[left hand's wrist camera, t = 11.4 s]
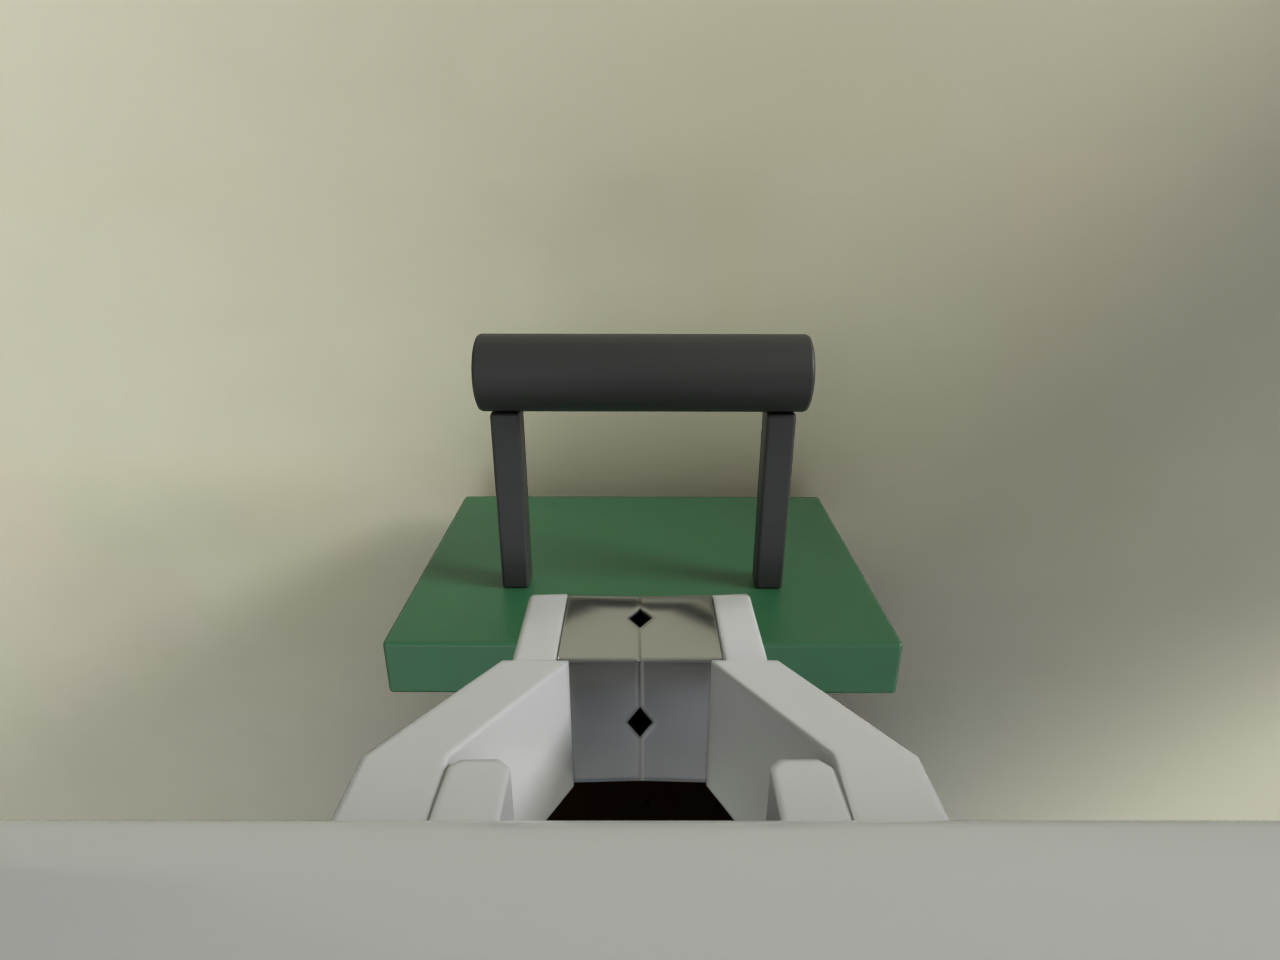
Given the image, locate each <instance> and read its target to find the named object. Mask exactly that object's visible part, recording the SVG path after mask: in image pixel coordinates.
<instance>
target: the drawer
mask: <svg viewBox="0 0 1280 960" xmlns="http://www.w3.org/2000/svg"><path fill="white" fill-rule="evenodd" d="M471 370H472V386H473V393H474V397H475V401H476V404H477V406H478V408H479V409H480V410H482V411H493V412H492V413H491V415H490V421H491V434H492V447H493V460H494V474H495V487H496V497H466V498H465V500H464V501H463V503H462V505H461V507H460V509H459V510H458V512H457V514H456V516H455V517H454V519H453V521H452V523H451V524H450V526H449V528H448V530H447V531H446V533H445V535H444V537H443V539H442V540H441V542H440V544H439V546H438V547H437V549H436V551H435V553H434V554H433V556H432V558H431V560H430V561H429V563H428V565H427V567H426V568H425V570H424V572H423V574H422V576H421V577H420V579H419V581H418V583H417V584H416V586H415V588H414V590H413V591H412V593H411V595H410V597H409V598H408V600H407V602H406V604H405V606H404V607H403V609H402V611H401V613H400V614H399V616H398V618H397V620H396V621H395V623H394V625H393V627H392V628H391V630H390V632H389V634H388V636H387V637H386V639H385V641H384V643H383V646H384V653H385V660H386V666H387V673H388V680H389V687H390V690H391V691H392V692H457V691H458V690H460V689H461V688H463V687H464V686H466V685H467V684H469V683H470V682H472V681H473V680H474V679H476V678H477V677H479V676H480V675H482V674H483V673H485V672H486V671H488V670H489V669H491V668H492V667H493V666H495V665H496V664H498V663H499V662H501V661H502V660H513V657H514V653H515V650H516V646H517V642H518V639H519V635H520V631H521V628H522V624H523V620H524V617H525V613H526V609H527V606H528V602H529V598H530V597H531V596H533V595H541V594H567V595H568V596H569V595H615V596H640V597H642V596H683V595H729V594H747V595H748V596H750V599H751V603H752V606H753V610H754V614H755V617H756V621H757V624H758V628H759V632H760V635H761V639H762V643H763V646H764V650H765V653H766V657H767V660H778V661H779V662H781V663H782V664H784V665H785V666H787V667H788V668H789V669H791V670H792V671H794V672H795V673H797V674H798V675H800V676H801V677H803V678H804V679H805V680H807V681H808V682H810V683H811V684H813V685H814V686H816V687H817V688H819V689H820V690H821V691H823V692H824V693H893V692H894V691H895V688H896V682H897V675H898V669H899V662H900V656H901V650H902V643H901V641H900V640H899V638H898V636H897V634H896V633H895V631H894V629H893V627H892V626H891V624H890V622H889V620H888V619H887V617H886V615H885V613H884V612H883V610H882V608H881V606H880V605H879V603H878V601H877V600H876V598H875V596H874V594H873V593H872V591H871V589H870V587H869V586H868V584H867V582H866V580H865V579H864V577H863V575H862V573H861V572H860V570H859V568H858V566H857V565H856V563H855V561H854V559H853V558H852V556H851V554H850V552H849V551H848V549H847V547H846V546H845V544H844V542H843V540H842V539H841V537H840V535H839V533H838V532H837V530H836V528H835V526H834V525H833V523H832V521H831V519H830V518H829V516H828V514H827V512H826V511H825V509H824V507H823V505H822V504H821V502H820V500H819V499H818V498H817V497H789V495H790V483H791V471H792V459H793V447H794V435H795V423H796V416H795V413H794V412H803V411H806V410H807V409H808V407H809V405H810V403H811V400H812V396H813V391H814V383H815V354H814V348H813V344H812V340H811V338H810V337H809V336H808V335H806V334H479V335H478V336H477V337H476V339H475V342H474V346H473V351H472V365H471ZM523 411H687V412H763V418H762V433H761V448H760V464H759V479H758V494H757V497H528V487H527V469H526V452H525V435H524V418H523ZM546 821H734V819H733V818H732V817H731V816H730V814H729V813H728V812H727V811H726V809H725V808H724V807H723V806H722V804H721V803H720V802H719V801H718V799H717V798H716V797H715V796H714V794H713V793H712V792H711V791H710V789H709V788H708V787H707V786H706V782H673V781H606V782H574V786H573V788H572V789H571V790H570V791H569V793H568V794H567V795H566V796H565V798H564V799H563V800H562V801H561V803H560V804H559V805H558V806H557V807H556V809H555V810H554V811H553V812H552V814H551V815H550V816H549V817H548V819H547V820H546Z"/></svg>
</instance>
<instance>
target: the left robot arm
mask: <svg viewBox="0 0 1280 960" xmlns="http://www.w3.org/2000/svg"><path fill="white" fill-rule="evenodd" d="M606 781H673V782H706V786H707V787H708V788H709V789H710V791H711V792H712V793H713V794H714V796H715V797H716V798H717V799H718V801H719V802H720V803H721V804H722V806H723V807H724V808H725V809H726V811H727V812H728V813H729V814H730V816H731V817H732V818H733V819H734V821H546V820H547V819H548V817H549V816H550V815H551V814H552V812H553V811H554V810H555V809H556V807H557V806H558V805H559V804H560V803H561V801H562V800H563V799H564V798H565V796H566V795H567V794H568V793H569V791H570V790H571V789H572V788H573V786H574V782H606ZM0 960H1280V821H949V819H948V817H947V815H946V813H945V811H944V809H943V806H942V804H941V802H940V800H939V798H938V796H937V794H936V792H935V790H934V788H933V786H932V784H931V782H930V780H929V778H928V776H927V774H926V772H925V770H924V768H923V766H922V764H921V761H920V759H919V757H917V756H916V755H914V754H913V753H911V752H910V751H909V750H907V749H906V748H904V747H903V746H901V745H900V744H898V743H897V742H895V741H894V740H893V739H891V738H890V737H888V736H887V735H885V734H884V733H882V732H881V731H879V730H878V729H877V728H875V727H874V726H872V725H871V724H869V723H868V722H866V721H865V720H864V719H862V718H861V717H859V716H858V715H856V714H855V713H853V712H852V711H850V710H849V709H848V708H846V707H845V706H843V705H842V704H840V703H839V702H837V701H836V700H834V699H833V698H832V697H830V696H829V695H827V694H826V693H824V692H823V691H821V690H820V689H819V688H817V687H816V686H814V685H813V684H811V683H810V682H808V681H807V680H805V679H804V678H803V677H801V676H800V675H798V674H797V673H795V672H794V671H792V670H791V669H789V668H788V667H787V666H785V665H784V664H782V663H781V662H779V661H778V660H767V657H766V653H765V650H764V646H763V643H762V639H761V635H760V632H759V628H758V624H757V621H756V617H755V614H754V610H753V606H752V603H751V599H750V596H748V595H747V594H729V595H683V596H642V597H640V596H615V595H569V596H568V595H567V594H541V595H533V596H531V597H530V598H529V602H528V606H527V609H526V613H525V617H524V620H523V624H522V628H521V631H520V635H519V639H518V642H517V646H516V650H515V653H514V657H513V660H502V661H501V662H499V663H498V664H496V665H495V666H493V667H492V668H491V669H489V670H488V671H486V672H485V673H483V674H482V675H480V676H479V677H477V678H476V679H474V680H473V681H472V682H470V683H469V684H467V685H466V686H464V687H463V688H461V689H460V690H458V691H457V692H456V693H454V694H453V695H451V696H450V697H448V698H447V699H445V700H444V701H442V702H441V703H439V704H438V705H437V706H435V707H434V708H432V709H431V710H429V711H428V712H426V713H425V714H423V715H422V716H421V717H419V718H418V719H416V720H415V721H413V722H412V723H410V724H409V725H407V726H406V727H404V728H403V729H402V730H400V731H399V732H397V733H396V734H394V735H393V736H391V737H390V738H388V739H387V740H385V741H384V742H383V743H381V744H380V745H378V746H377V747H375V748H374V749H372V750H371V751H369V752H368V753H367V754H365V755H364V756H362V758H361V760H360V762H359V764H358V766H357V768H356V770H355V772H354V774H353V776H352V778H351V780H350V782H349V784H348V786H347V788H346V791H345V793H344V795H343V797H342V799H341V801H340V803H339V805H338V807H337V809H336V811H335V813H334V815H333V817H332V819H331V821H220V820H159V821H0Z"/></svg>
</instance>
